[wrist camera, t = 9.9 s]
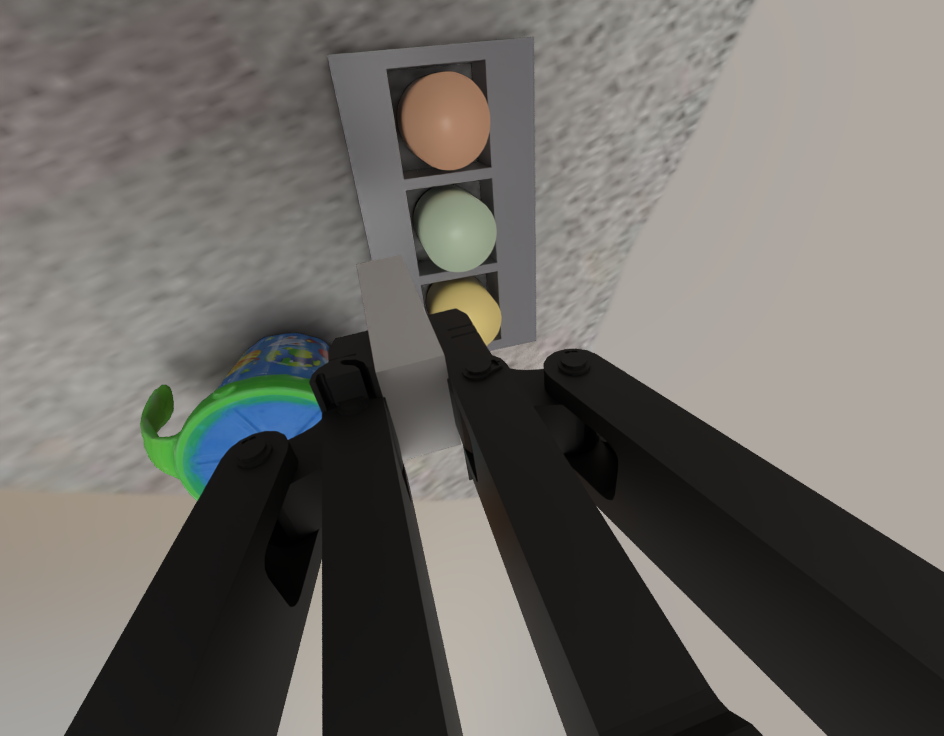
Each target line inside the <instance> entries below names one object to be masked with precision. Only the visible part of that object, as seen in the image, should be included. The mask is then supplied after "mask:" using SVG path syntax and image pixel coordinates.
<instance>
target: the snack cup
mask: <svg viewBox="0 0 944 736" xmlns="http://www.w3.org/2000/svg"><path fill="white" fill-rule="evenodd" d="M329 348H330V347H329V346H328V345H327V344H326V343H325V342H324V341H323V340H321V339H318V338H316V337H310V336H306V335H304V334H299V333H290V334H281V335H274V336H269V337H264V338H262V339H261V340H260V341H259V342H258V343H256V344H255V345H253V346H252V347H250V348H249V349H248V350H247V351H246V352H245V353H244V354H243V355H242V357H241V358H240V359H239V361H238V362H237V363H236V365H235V366H234V367H233V368H232V370H231V371H230V372H229V373H228V375H227V376H226V377H225V379H224V380H223V382H222V384H221V385H220V386H219V387H218V388H217V389H216V390H215V391H214V392H213V393H212V394H211V395H209V396H208V397H207V398H206V399H205V400H203V401H202V402H201V403H200V404H199V405H198V406H197V407H196V408H195V410H194V411H193V412H192V413H191V415H190V416H189V417H188V419H187V421H186V422H185V424H184V426H183V428H182V430H181V431H180V432H179V433H178V434H176V435H174V436H170V437H159V436H158V434H157V432H158V431H159V430H160V428H161V427H162V426H164V425H165V424H166V423H167V421H168V420H169V419H170V418H171V415H172V413H173V410H174V401H173V395H172V391H171V389H170V387H169V386H167V385H161V386H160V387H159V388H158V389H156V390H154V392H153V393H152V395H151V396H150V397H149V400H148V401H147V403H146V405H145V408H144V410H143V413H142V417H141V422H140V426H141V434H142V437H143V440H144V448H145V450H146V452H147V454H148V457H149V458H150V460H151V461H152V462H153V463H154V465H155V466H156V467H157V468H159V469H160V470H161V471H163V472H164V473H166V474H168V475H171V476H173V477H176V478H178V479H180V480H181V482H182V484H183V485H184V487H185V488H186V490H187V491H188V492H189V494H190V495H191V496H192V497H193V498H194V499H196V500H197V501H198V499H199V497H200V495H201V494H202V492H203V490H204V488H205V487H206V485H207V483H208V481H209V479H210V478H211V476H212V474H213V472H214V471H215V469H216V467H217V465H218V464H219V462H220V460H221V458H222V457H223V456H224V455H225V453H226V452H227V451H228V450H229V448H231V447H232V446H233V445H235V444H236V443H237V442H239V441H240V440H242V439H244V438H246V437H248V436H250V435H252V434H255V433H259V432H263V431H278V432H280V433H282V434H284V435H285V436H286V437H287V439H288V440H289V439H291V438H293V437H295V436H297V435H299V434H301V433H303V432H305V431H306V430H308V429H310V428H311V427H313V426H314V425H315V424H317V423H318V422H319V421H320V420H321V419H322V412H321V410H320V408H319V405H318V403H317V401H316V398H315V396H314V394H313V391H312V389H311V386H310V384H309V381H310V378H311V376H312V374H313V373H314V372H315V371H316V370H317V369H318V368H319V367H321V366H323V365H324V364H326V363H328V362H329V360H328V349H329Z"/></svg>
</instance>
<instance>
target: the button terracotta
mask: <svg viewBox="0 0 944 736" xmlns="http://www.w3.org/2000/svg"><path fill="white" fill-rule="evenodd" d="M397 123H398V129H399V132H400V135H401V137H402V139H403V141H404V143H405V145H406V146H407V147H408V148H409V150H410V151H411V152H412V153H414V154H415V155H416V156H418V157H419V158H421V159H422V160H423V161H425V162H426V163H428V164H429V165H431V166H433V167H435V168H438V169H442V170H456V169H460V168H463V167H465V166H467V165H469V164H470V163H471V162H473V161H474V160H475V159H476V158H477V157H478V156H479V155H480V153H481V152H482V150H483V149H484V147H485V145H486V142H487V139H488V136H489V132H490V112H489V107H488V104H487V101H486V99H485V97H484V95H483V93H482V91H481V90H480V88H479V87H478V86H477V85H476V84H475V83H474V82H473V81H472V80H471V79H469V78H468V77H466V76H464V75H462V74H459V73H456V72H439V73H435V74H430V75H426V76H423V77H420V78H418V79H416V80H415V81H413V82H412V83H411V84H410V85H409V86H408V87H407V88H406V90H405V91H404V93H403V94H402V96H401V99H400V101H399V105H398V110H397Z"/></svg>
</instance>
